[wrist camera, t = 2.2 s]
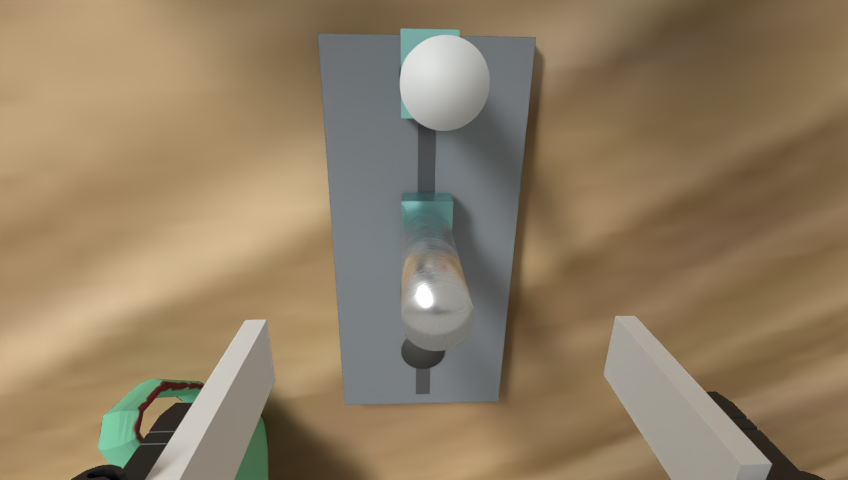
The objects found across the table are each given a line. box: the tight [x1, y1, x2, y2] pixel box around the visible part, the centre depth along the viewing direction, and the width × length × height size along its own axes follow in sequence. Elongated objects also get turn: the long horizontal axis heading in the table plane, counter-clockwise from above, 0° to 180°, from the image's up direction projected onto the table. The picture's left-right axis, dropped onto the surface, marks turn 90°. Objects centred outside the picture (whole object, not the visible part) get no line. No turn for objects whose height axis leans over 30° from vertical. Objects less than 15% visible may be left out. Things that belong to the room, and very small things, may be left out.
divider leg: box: [401, 193, 475, 351], centre depth 22 cm, size 4×3×11 cm
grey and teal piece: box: [318, 29, 536, 405], centre depth 24 cm, size 26×12×12 cm, turn 179°
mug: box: [98, 379, 268, 480], centre depth 30 cm, size 15×10×10 cm
